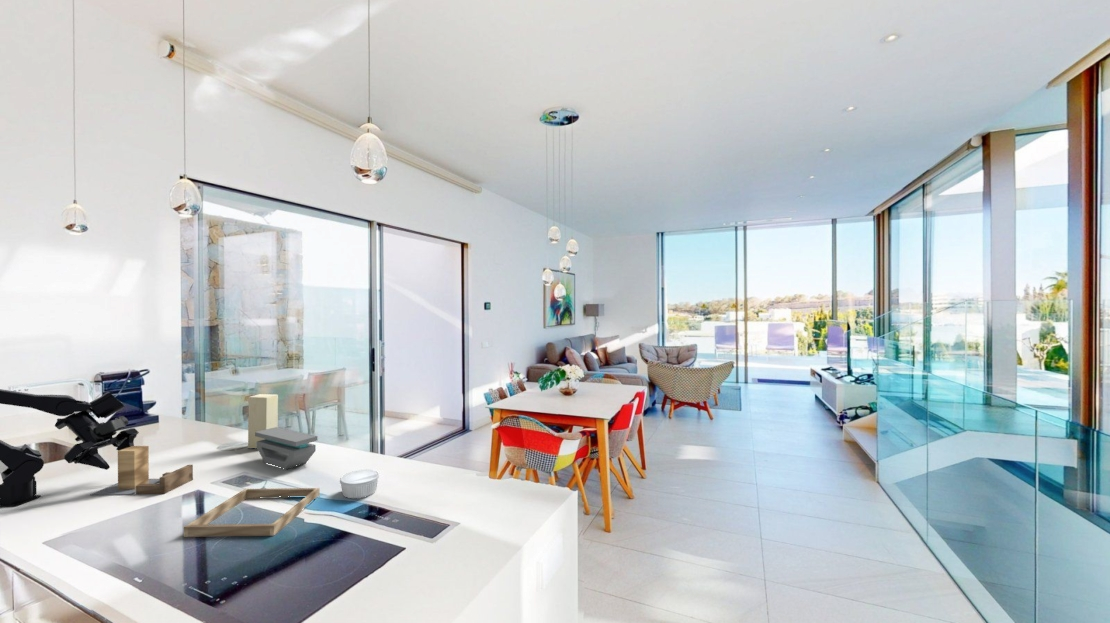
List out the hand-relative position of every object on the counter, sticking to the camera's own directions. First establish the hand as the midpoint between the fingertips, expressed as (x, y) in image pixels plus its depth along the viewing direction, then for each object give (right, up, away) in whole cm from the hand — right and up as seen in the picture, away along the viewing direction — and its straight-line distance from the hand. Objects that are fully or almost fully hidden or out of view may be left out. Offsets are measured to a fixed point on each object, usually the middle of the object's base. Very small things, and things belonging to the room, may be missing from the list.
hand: (122, 463), depth 140 cm
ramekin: (+76, -8, -3) cm, 77 cm away
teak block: (+3, -7, 0) cm, 8 cm away
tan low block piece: (+12, -8, +1) cm, 14 cm away
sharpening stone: (+38, -8, +22) cm, 45 cm away
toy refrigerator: (+18, -8, +41) cm, 45 cm away
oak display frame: (+55, -8, -18) cm, 58 cm away
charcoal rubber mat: (+2, -8, 0) cm, 8 cm away
